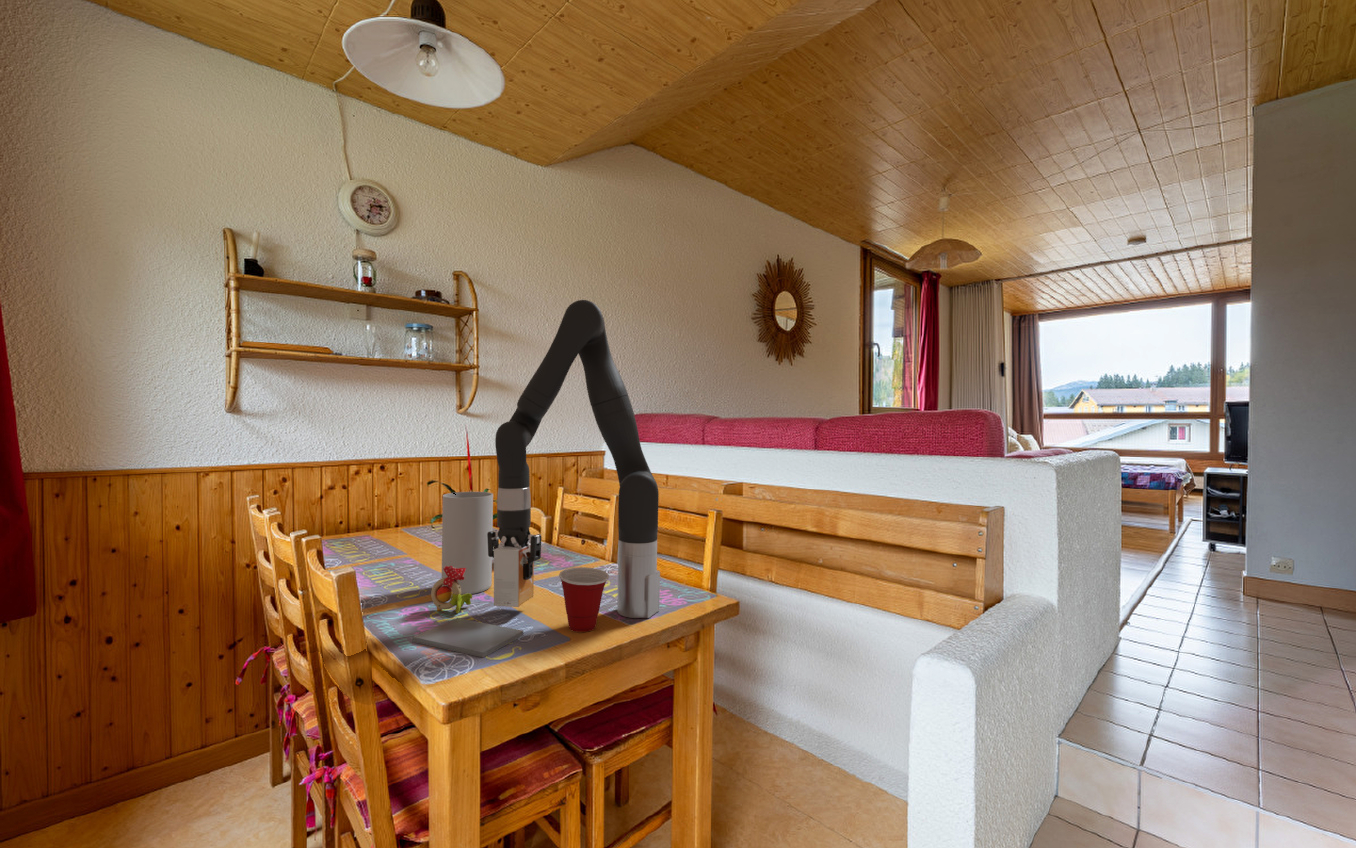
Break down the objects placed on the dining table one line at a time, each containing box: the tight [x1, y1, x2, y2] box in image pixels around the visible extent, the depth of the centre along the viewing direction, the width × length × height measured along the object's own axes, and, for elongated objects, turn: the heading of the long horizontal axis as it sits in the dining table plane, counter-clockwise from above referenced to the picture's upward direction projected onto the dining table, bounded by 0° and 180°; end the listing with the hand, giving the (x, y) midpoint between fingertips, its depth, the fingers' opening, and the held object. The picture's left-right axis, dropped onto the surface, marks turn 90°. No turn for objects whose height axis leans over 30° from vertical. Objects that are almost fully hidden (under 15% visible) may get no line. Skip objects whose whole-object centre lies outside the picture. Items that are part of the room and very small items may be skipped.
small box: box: [493, 542, 535, 608], centre depth 130 cm, size 8×6×13 cm
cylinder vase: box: [441, 491, 494, 595], centre depth 148 cm, size 12×12×25 cm
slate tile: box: [412, 617, 525, 658], centre depth 114 cm, size 18×12×1 cm, turn 68°
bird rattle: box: [430, 566, 473, 614], centre depth 131 cm, size 6×11×9 cm
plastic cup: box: [558, 566, 610, 633], centre depth 121 cm, size 11×11×12 cm
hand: (514, 577), depth 130 cm, fingers closed on small box, 7 cm apart
